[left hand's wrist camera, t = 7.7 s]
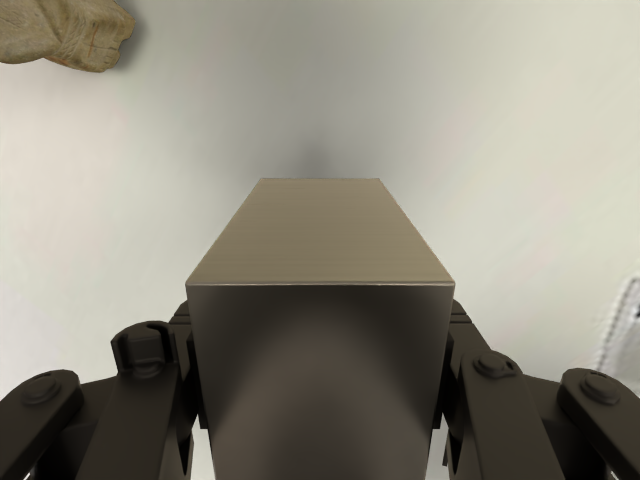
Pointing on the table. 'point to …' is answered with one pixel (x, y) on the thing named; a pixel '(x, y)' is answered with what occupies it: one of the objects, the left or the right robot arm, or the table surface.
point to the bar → (320, 335)
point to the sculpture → (64, 32)
